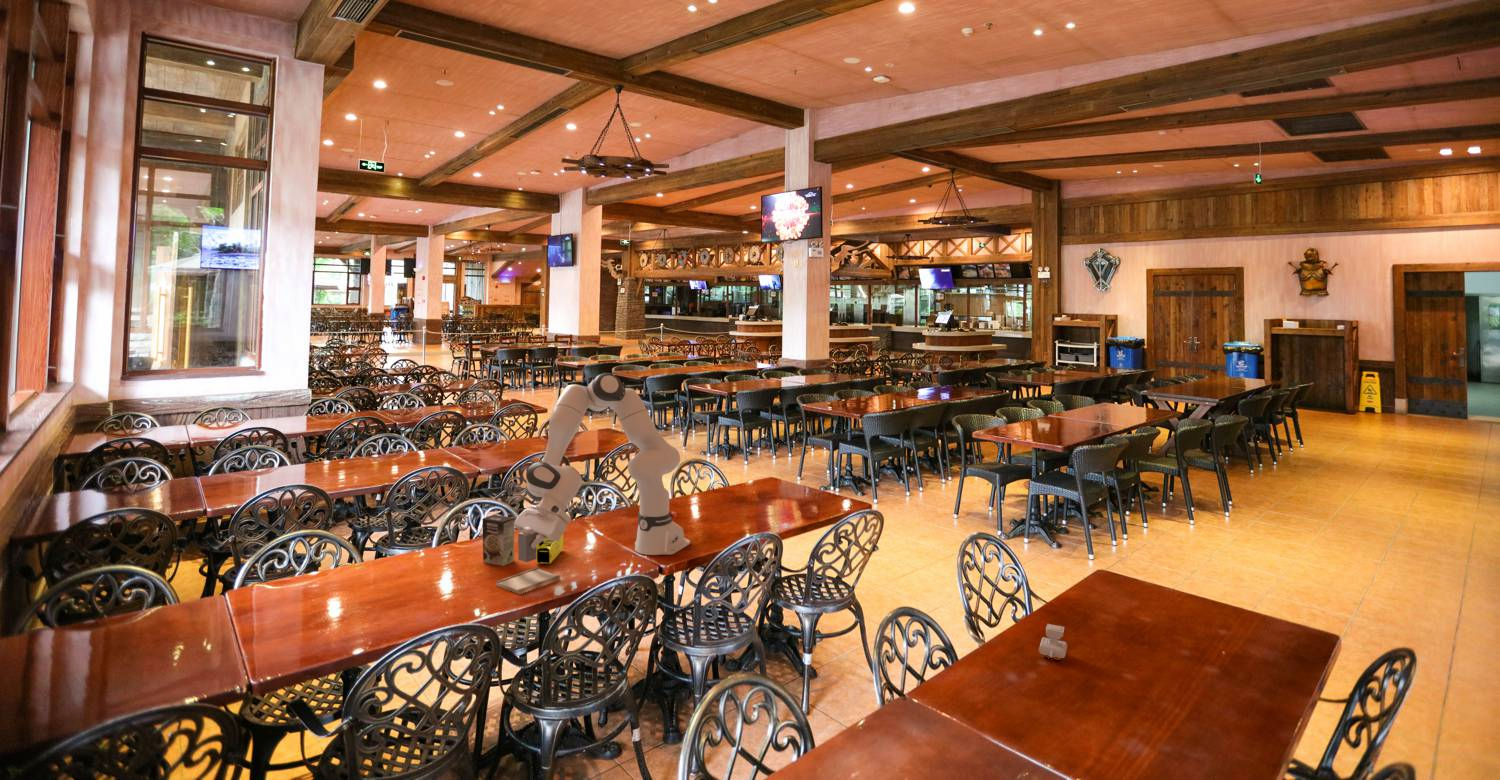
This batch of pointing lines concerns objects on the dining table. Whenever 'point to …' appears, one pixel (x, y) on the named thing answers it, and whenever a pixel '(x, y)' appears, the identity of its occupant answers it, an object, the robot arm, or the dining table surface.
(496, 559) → the coffee box
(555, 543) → the yellow toy chassis
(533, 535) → the grey bottle
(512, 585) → the board
